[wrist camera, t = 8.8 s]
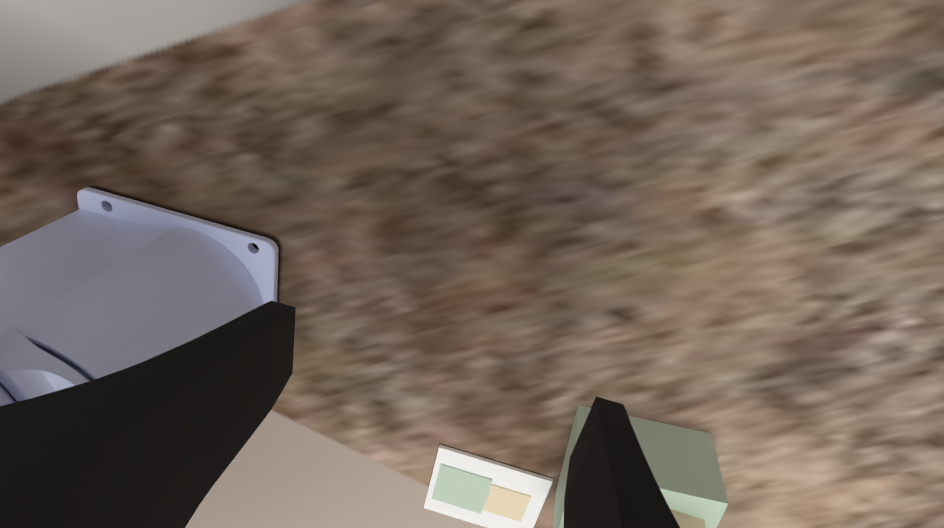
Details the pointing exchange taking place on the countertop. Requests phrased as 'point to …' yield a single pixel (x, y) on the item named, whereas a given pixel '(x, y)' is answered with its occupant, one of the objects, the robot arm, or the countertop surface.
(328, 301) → the countertop surface
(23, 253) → the robot arm
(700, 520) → the maple block
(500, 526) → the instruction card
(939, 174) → the countertop surface
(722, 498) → the sage base block
